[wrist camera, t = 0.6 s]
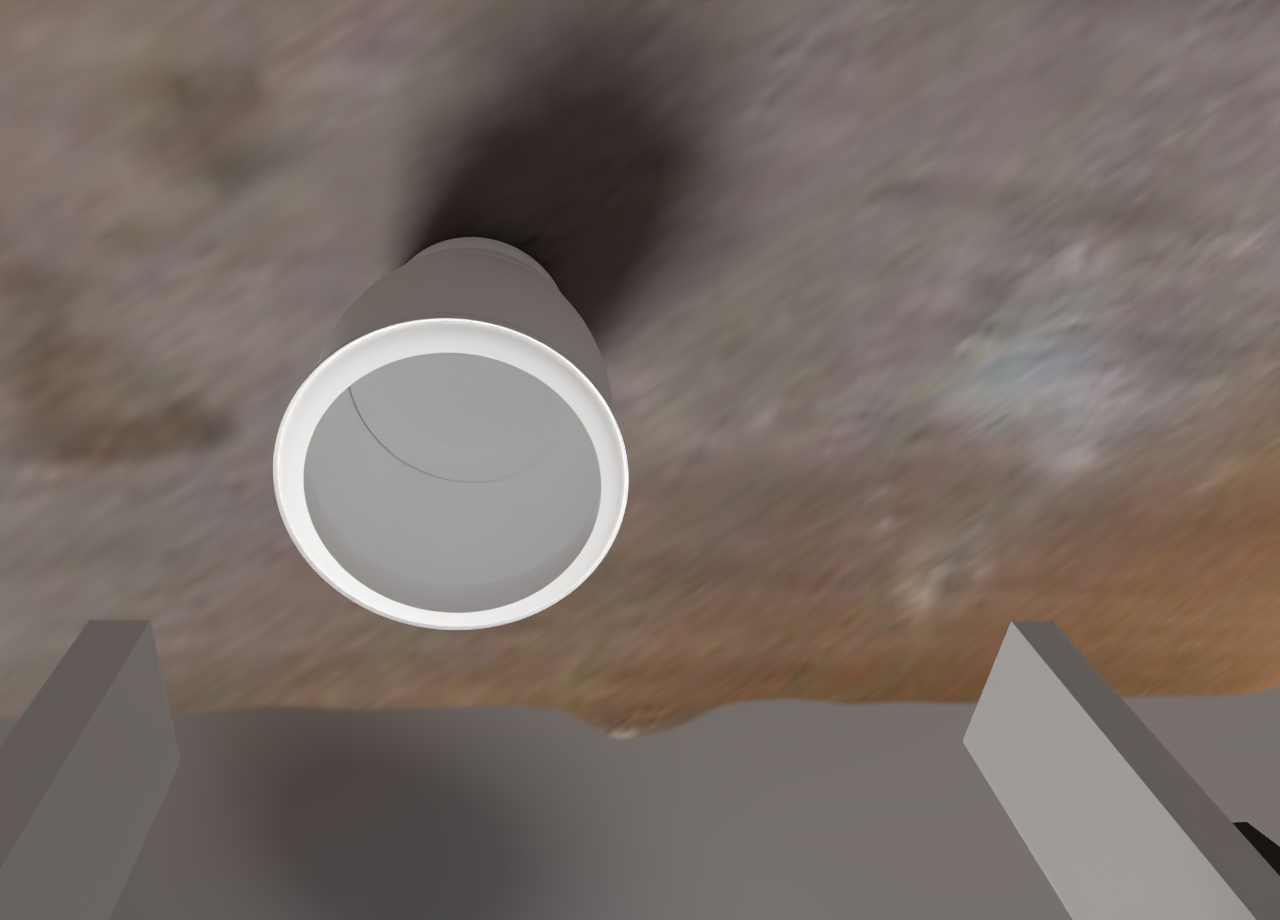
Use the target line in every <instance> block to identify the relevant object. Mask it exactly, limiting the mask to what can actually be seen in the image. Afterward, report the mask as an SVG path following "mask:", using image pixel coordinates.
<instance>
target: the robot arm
mask: <svg viewBox="0 0 1280 920" xmlns="http://www.w3.org/2000/svg"><path fill="white" fill-rule="evenodd" d="M963 743H964V744H965V746H966V748H967V749H968V751H969V752H970V754H971V756H972V757H973V759H974V760H975V762H976V764H977V765H978V767H979V768H980V770H981V772H982V773H983V775H984V777H985V778H986V780H987V782H988V783H989V785H990V786H991V788H992V790H993V791H994V793H995V794H996V796H997V798H998V799H999V801H1000V803H1001V804H1002V806H1003V807H1004V809H1005V811H1006V812H1007V814H1008V815H1009V817H1010V819H1011V820H1012V822H1013V824H1014V825H1015V826H1016V828H1017V830H1018V832H1019V833H1020V835H1021V837H1022V838H1023V840H1024V841H1025V843H1026V845H1027V846H1028V848H1029V850H1030V851H1031V853H1032V854H1033V856H1034V858H1035V859H1036V861H1037V862H1038V864H1039V866H1040V867H1041V869H1042V870H1043V872H1044V874H1045V875H1046V877H1047V879H1048V880H1049V882H1050V884H1051V885H1052V887H1053V888H1054V890H1055V892H1056V893H1057V895H1058V896H1059V898H1060V900H1061V901H1062V903H1063V905H1064V906H1065V908H1066V909H1067V911H1068V912H1069V914H1070V916H1071V918H1072V919H1073V920H1280V847H1279V846H1278V845H1276V844H1275V843H1274V842H1273V841H1271V840H1270V839H1269V838H1267V837H1266V836H1265V835H1263V834H1262V833H1261V832H1259V831H1258V830H1257V829H1255V828H1254V827H1252V826H1251V825H1250V824H1249V823H1247V822H1237V823H1232V822H1231V821H1230V820H1229V819H1228V817H1227V816H1226V815H1225V814H1224V813H1223V812H1222V811H1221V810H1220V808H1219V807H1218V806H1217V805H1216V804H1215V803H1214V802H1213V801H1212V799H1210V797H1209V796H1208V795H1207V794H1206V793H1205V792H1204V791H1203V789H1202V788H1201V787H1200V786H1199V785H1198V784H1197V783H1196V782H1195V780H1194V779H1193V778H1192V777H1191V776H1190V775H1189V774H1188V773H1187V771H1186V770H1185V769H1184V768H1183V767H1182V766H1181V765H1180V764H1179V762H1178V761H1177V760H1176V759H1175V758H1174V757H1173V756H1172V755H1171V754H1170V752H1169V751H1168V750H1167V749H1166V748H1165V747H1164V746H1163V745H1162V743H1161V742H1160V741H1159V740H1158V739H1157V738H1156V737H1155V735H1154V734H1153V733H1152V732H1151V731H1150V730H1149V729H1148V728H1147V727H1146V726H1145V724H1144V723H1143V722H1142V721H1141V720H1140V719H1139V717H1138V716H1137V715H1136V714H1135V713H1134V712H1133V711H1132V710H1131V708H1130V707H1129V706H1128V705H1127V704H1126V703H1125V702H1124V701H1123V699H1122V698H1121V697H1120V696H1119V695H1118V694H1117V693H1116V692H1115V690H1114V689H1113V688H1112V687H1111V686H1110V685H1109V684H1108V683H1107V681H1106V680H1105V679H1104V678H1103V677H1102V676H1101V675H1100V674H1099V672H1098V671H1097V670H1096V669H1095V668H1094V667H1093V666H1092V665H1091V663H1090V662H1089V661H1088V660H1087V659H1086V658H1085V657H1084V656H1083V655H1082V653H1081V652H1080V651H1079V650H1078V649H1077V648H1076V647H1075V646H1074V644H1073V643H1072V642H1071V641H1070V640H1069V639H1068V638H1067V637H1066V635H1065V634H1064V633H1063V632H1062V631H1061V630H1060V629H1059V628H1058V626H1057V625H1056V624H1055V623H1054V622H1053V621H1011V623H1010V626H1009V628H1008V631H1007V633H1006V636H1005V638H1004V641H1003V643H1002V645H1001V648H1000V650H999V653H998V655H997V658H996V660H995V663H994V665H993V668H992V670H991V672H990V675H989V677H988V680H987V682H986V685H985V687H984V690H983V692H982V695H981V697H980V700H979V702H978V704H977V707H976V709H975V712H974V714H973V717H972V719H971V722H970V724H969V727H968V729H967V731H966V734H965V737H964V739H963ZM179 763H180V758H179V754H178V749H177V745H176V740H175V735H174V730H173V725H172V721H171V716H170V711H169V706H168V702H167V697H166V692H165V688H164V683H163V678H162V673H161V669H160V664H159V659H158V654H157V650H156V645H155V640H154V636H153V631H152V626H151V621H150V620H89V621H88V623H87V624H86V626H85V627H84V629H83V630H82V631H81V633H80V634H79V636H78V637H77V638H76V640H75V641H74V643H73V644H72V646H71V647H70V648H69V650H68V651H67V653H66V654H65V655H64V657H63V658H62V660H61V661H60V663H59V664H58V665H57V667H56V668H55V670H54V671H53V672H52V674H51V675H50V677H49V678H48V680H47V681H46V682H45V684H44V685H43V687H42V688H41V689H40V691H39V692H38V694H37V695H36V697H35V698H34V699H33V701H32V702H31V704H30V705H29V706H28V708H27V709H26V711H25V712H24V714H23V715H22V716H21V718H20V719H19V721H18V722H17V723H16V725H15V726H14V728H13V729H12V731H11V732H10V733H9V735H8V736H7V738H6V739H5V741H4V742H3V743H2V745H1V746H0V920H109V919H110V916H111V914H112V912H113V910H114V908H115V905H116V903H117V901H118V899H119V896H120V894H121V892H122V890H123V887H124V885H125V883H126V881H127V879H128V877H129V874H130V872H131V870H132V868H133V865H134V863H135V861H136V859H137V857H138V854H139V852H140V850H141V848H142V845H143V843H144V841H145V838H146V836H147V834H148V832H149V830H150V828H151V825H152V823H153V821H154V819H155V816H156V814H157V812H158V810H159V808H160V805H161V803H162V801H163V798H164V797H165V794H166V792H167V789H168V788H169V785H170V783H171V781H172V779H173V776H174V774H175V772H176V770H177V767H178V765H179Z"/></svg>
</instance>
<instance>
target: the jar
mask: <svg viewBox="0 0 1280 920" xmlns="http://www.w3.org/2000/svg"><path fill="white" fill-rule="evenodd" d="M273 480H274V489H275V495H276V500H277V504H278V508H279V511H280V514H281V517H282V519H283V522H284V524H285V527H286V529H287V531H288V533H289V535H290V537H291V539H292V540H293V542H294V544H295V546H296V547H297V549H298V550H299V552H300V553H301V554H302V556H303V557H304V558H305V560H306V561H307V562H308V563H309V565H310V566H311V567H312V568H313V569H314V570H315V571H316V572H317V573H318V574H319V575H320V576H321V577H322V578H323V579H324V580H325V581H326V582H327V583H328V584H329V585H331V586H332V587H333V588H334V589H336V590H337V591H338V592H340V593H341V594H342V595H344V596H345V597H347V598H348V599H350V600H351V601H353V602H355V603H357V604H358V605H360V606H362V607H364V608H366V609H368V610H370V611H372V612H374V613H376V614H379V615H381V616H384V617H386V618H389V619H392V620H395V621H398V622H402V623H406V624H410V625H414V626H419V627H425V628H432V629H442V630H471V629H481V628H488V627H494V626H499V625H503V624H507V623H511V622H514V621H517V620H520V619H523V618H526V617H528V616H531V615H533V614H535V613H538V612H540V611H542V610H544V609H546V608H548V607H549V606H551V605H553V604H555V603H556V602H558V601H559V600H561V599H562V598H564V597H565V596H567V595H568V594H569V593H571V592H572V591H573V590H575V589H576V588H577V587H578V586H579V585H580V584H581V583H582V582H584V581H585V580H586V579H587V578H588V577H589V575H590V574H591V573H592V572H593V571H594V570H595V569H596V567H597V566H598V565H599V564H600V562H601V561H602V560H603V558H604V557H605V555H606V554H607V552H608V550H609V549H610V547H611V545H612V543H613V541H614V539H615V537H616V535H617V533H618V531H619V528H620V525H621V522H622V519H623V516H624V512H625V508H626V503H627V496H628V482H629V477H628V463H627V456H626V451H625V446H624V442H623V438H622V434H621V431H620V428H619V425H618V422H617V420H616V417H615V415H614V413H613V406H612V397H611V390H610V385H609V380H608V376H607V372H606V368H605V365H604V362H603V359H602V356H601V354H600V351H599V349H598V346H597V344H596V342H595V340H594V338H593V336H592V334H591V332H590V331H589V329H588V327H587V325H586V324H585V322H584V321H583V319H582V318H581V316H580V315H579V314H578V312H577V311H576V310H575V308H574V307H573V306H572V305H571V304H570V302H569V301H568V300H567V299H566V298H565V297H564V296H563V295H562V293H561V292H560V291H559V289H558V287H557V285H556V284H555V282H554V281H553V279H552V278H551V276H550V275H549V274H548V273H547V272H546V270H545V269H544V268H543V267H542V266H541V265H540V264H539V263H538V262H537V261H535V260H534V259H533V258H532V257H530V256H529V255H527V254H526V253H524V252H523V251H521V250H519V249H518V248H516V247H513V246H511V245H509V244H506V243H504V242H501V241H497V240H493V239H488V238H482V237H461V238H454V239H449V240H446V241H442V242H439V243H437V244H434V245H432V246H430V247H428V248H426V249H424V250H423V251H421V252H420V253H418V254H417V255H415V256H414V257H413V258H412V259H411V260H409V261H408V262H407V263H406V264H405V265H403V266H402V267H400V268H398V269H396V270H394V271H392V272H391V273H389V274H387V275H386V276H384V277H383V278H381V279H380V280H378V281H377V282H376V283H374V284H373V285H372V286H371V287H369V288H368V289H367V290H366V291H365V292H364V293H363V294H362V295H361V296H360V297H359V298H358V299H357V300H356V301H355V302H354V303H353V304H352V305H351V306H350V307H349V308H348V310H347V311H346V312H345V313H344V315H343V316H342V317H341V319H340V320H339V322H338V323H337V325H336V326H335V328H334V329H333V331H332V333H331V334H330V336H329V338H328V340H327V342H326V344H325V346H324V348H323V350H322V352H321V355H320V357H319V360H318V362H317V365H316V367H315V368H314V369H313V371H312V372H311V373H310V374H309V376H308V377H307V378H306V379H305V381H304V382H303V384H302V385H301V387H300V388H299V389H298V391H297V392H296V394H295V396H294V397H293V399H292V400H291V402H290V404H289V406H288V408H287V410H286V412H285V414H284V417H283V419H282V422H281V425H280V428H279V431H278V435H277V439H276V443H275V449H274V458H273Z"/></svg>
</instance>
